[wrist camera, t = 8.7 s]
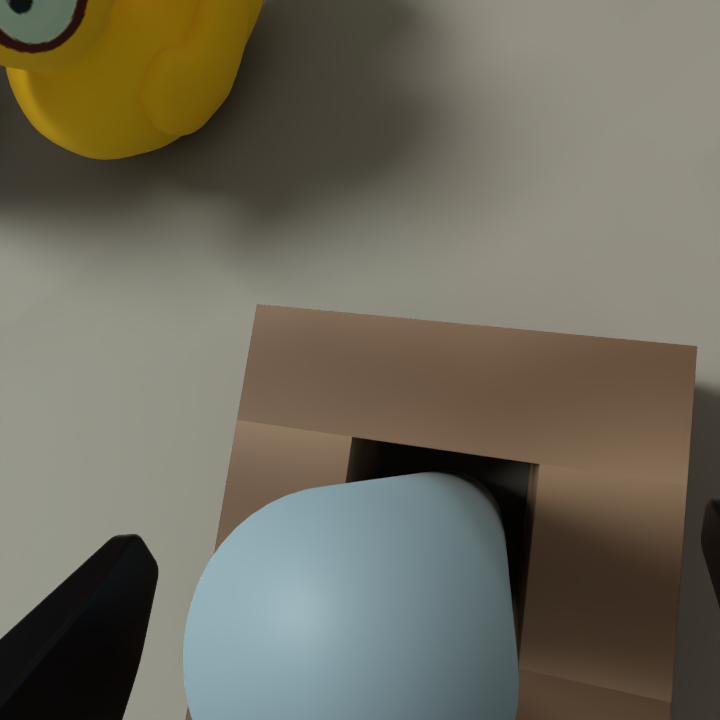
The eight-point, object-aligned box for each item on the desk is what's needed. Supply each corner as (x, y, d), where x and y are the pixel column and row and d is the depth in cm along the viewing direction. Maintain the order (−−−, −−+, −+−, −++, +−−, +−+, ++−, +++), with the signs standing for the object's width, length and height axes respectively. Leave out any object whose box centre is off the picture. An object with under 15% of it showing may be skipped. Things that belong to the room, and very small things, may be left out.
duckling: (119, 270, 21) (-202, 108, 11) (29, 183, 22) (-324, -28, 13) (336, 17, 21) (196, -372, 11) (231, -56, 22) (25, -454, 13)
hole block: (619, 764, 15) (659, 864, 12) (251, 671, 18) (184, 730, 14) (651, 373, 17) (697, 346, 13) (305, 336, 19) (257, 304, 15)
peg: (523, 564, 17) (580, 798, 5) (413, 603, 17) (239, 896, 6) (477, 453, 17) (436, 436, 6) (374, 492, 18) (146, 549, 6)
